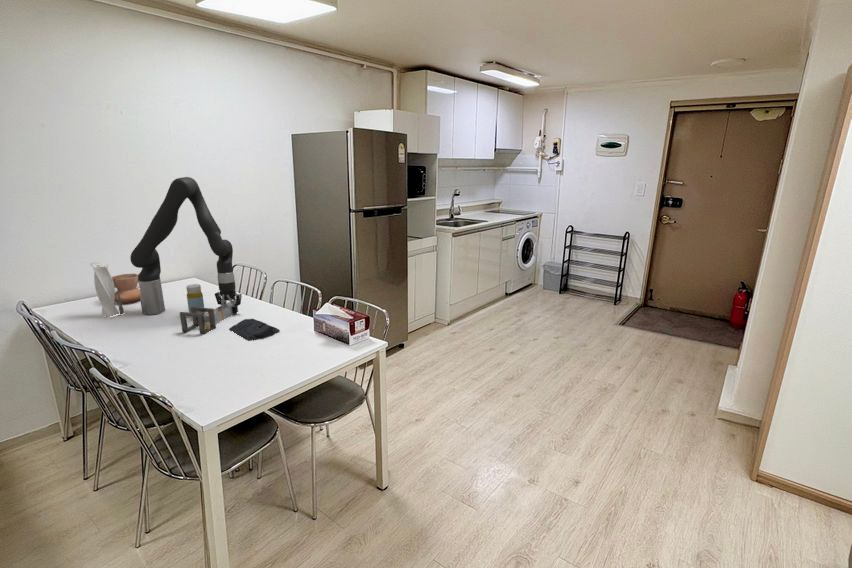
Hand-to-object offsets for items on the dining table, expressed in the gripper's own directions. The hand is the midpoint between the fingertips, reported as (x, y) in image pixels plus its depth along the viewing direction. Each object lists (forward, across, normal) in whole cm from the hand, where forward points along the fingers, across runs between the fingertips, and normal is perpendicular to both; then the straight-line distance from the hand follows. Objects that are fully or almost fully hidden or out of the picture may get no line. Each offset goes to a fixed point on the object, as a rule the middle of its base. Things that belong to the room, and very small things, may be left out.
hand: (230, 312), depth 221 cm
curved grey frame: (0, 0, -22) cm, 23 cm away
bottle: (+1, -15, -5) cm, 16 cm away
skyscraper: (+1, -55, -16) cm, 57 cm away
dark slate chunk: (+1, +24, -17) cm, 30 cm away
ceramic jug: (+1, -65, +4) cm, 65 cm away
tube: (0, 0, -7) cm, 7 cm away
